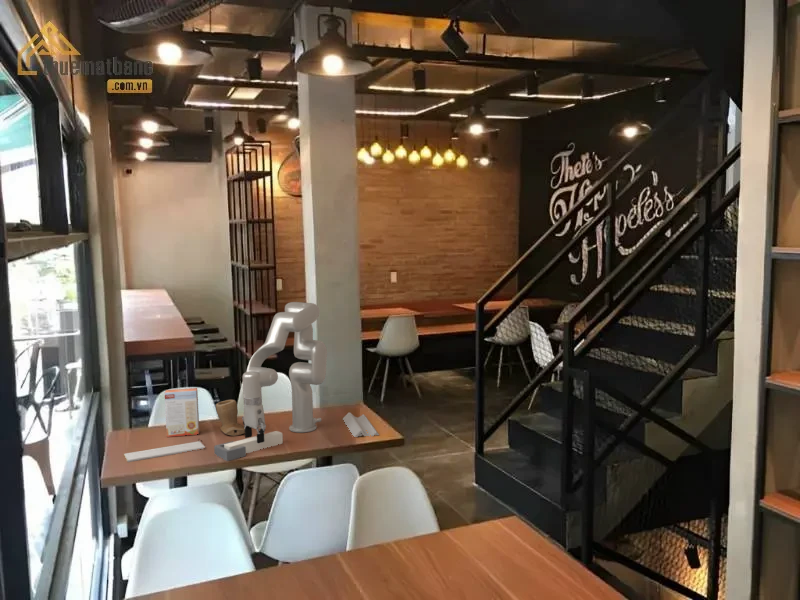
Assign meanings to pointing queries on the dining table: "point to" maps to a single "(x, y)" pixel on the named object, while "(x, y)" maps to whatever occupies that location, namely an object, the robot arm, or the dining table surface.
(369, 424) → the crown molding
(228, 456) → the end cap
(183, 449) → the baseboard molding
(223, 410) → the tan boot
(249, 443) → the cream white rectangular bar
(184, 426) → the cracker box
